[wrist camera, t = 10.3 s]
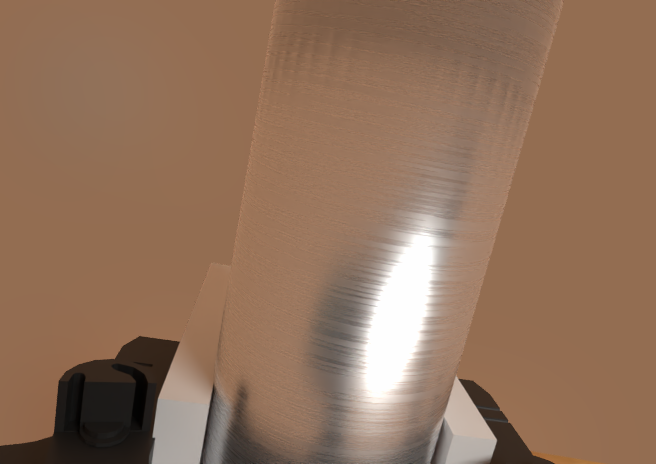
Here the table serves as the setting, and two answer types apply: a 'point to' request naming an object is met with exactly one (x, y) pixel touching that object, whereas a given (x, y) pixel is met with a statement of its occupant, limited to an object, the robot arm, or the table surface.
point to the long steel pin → (369, 223)
